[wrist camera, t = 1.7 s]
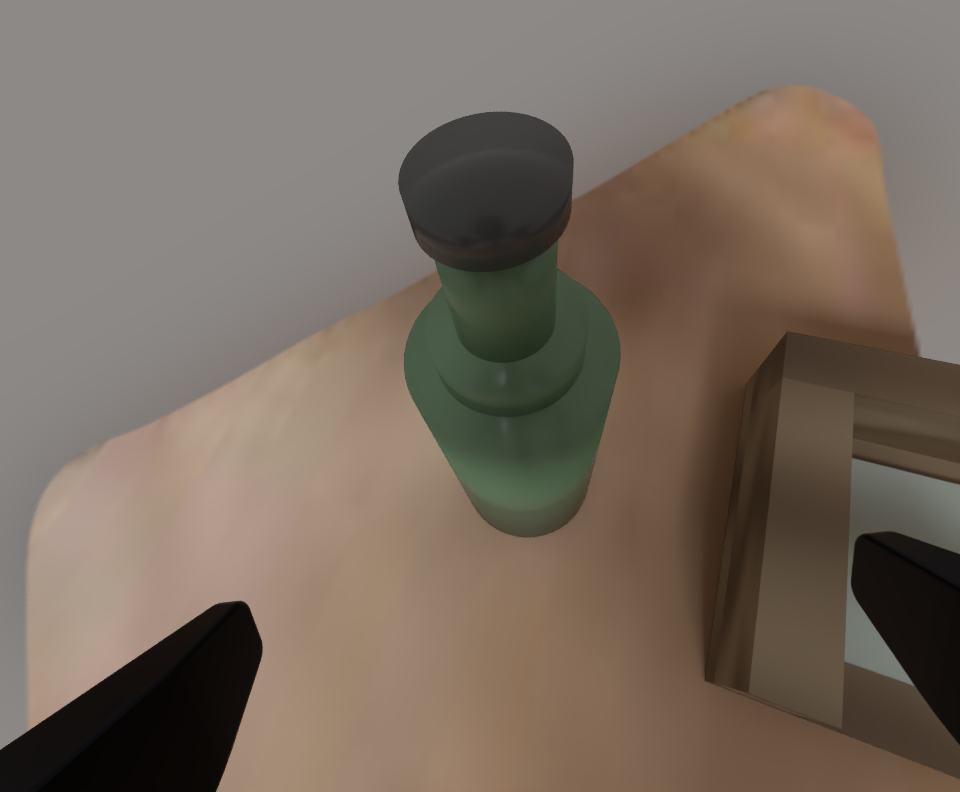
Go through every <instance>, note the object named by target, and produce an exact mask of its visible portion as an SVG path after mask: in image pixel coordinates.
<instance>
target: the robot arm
mask: <svg viewBox="0 0 960 792" xmlns="http://www.w3.org/2000/svg"><path fill="white" fill-rule="evenodd" d="M851 588H852V592H853V594H854V597H855V599H856V600H857V602H858V604H859V605H860V607H861V608H862V610H863V611H864V612H865V614H866V615H867V617H868V618H869V620H870V621H871V623H872V624H873V626H874V627H875V629H876V630H877V631H878V633H879V634H880V636H881V637H882V639H883V640H884V642H885V643H886V645H887V646H888V648H889V649H890V650H891V652H892V653H893V655H894V656H895V658H896V659H897V661H898V662H899V664H900V665H901V667H902V668H903V670H904V671H905V672H906V674H907V675H908V677H909V678H910V680H911V681H912V683H913V684H914V686H915V687H916V689H917V690H918V691H919V693H920V694H921V696H922V697H923V698H924V700H925V701H926V703H927V704H928V705H929V707H930V708H931V709H932V711H933V712H934V714H935V715H936V716H937V717H938V719H939V720H940V721H941V723H942V724H943V725H944V726H945V728H946V729H947V730H948V732H949V733H950V734H951V735H952V737H953V738H954V739H955V740H956V742H957V743H958V744H959V745H960V554H958V553H955V552H953V551H950V550H947V549H944V548H941V547H938V546H935V545H932V544H929V543H926V542H923V541H921V540H918V539H915V538H912V537H909V536H906V535H903V534H900V533H897V532H893V531H883V532H873V533H864V534H861V535H860V536H858V537H857V539H856V540H855V544H854V553H853V563H852V572H851ZM262 649H263V647H262V640H261V637H260V635H259V632H258V629H257V627H256V624H255V621H254V619H253V616H252V613H251V611H250V608H249V606H248V605H247V604H246V603H245V602H243V601H232V602H223V603H218V604H215V605H214V606H212V607H211V608H209V609H208V610H206V611H205V612H203V613H202V614H200V615H199V616H197V617H196V618H194V619H193V620H191V621H190V622H188V623H187V624H185V625H184V626H182V627H181V628H180V629H178V630H177V631H175V632H174V633H172V634H171V635H169V636H168V637H166V638H165V639H163V640H162V641H160V642H159V643H157V644H156V645H154V646H153V647H151V648H150V649H148V650H147V651H146V652H144V653H143V654H141V655H140V656H138V657H137V658H135V659H134V660H132V661H131V662H129V663H128V664H126V665H125V666H123V667H122V668H120V669H119V670H117V671H116V672H115V673H113V674H112V675H110V676H109V677H107V678H106V679H104V680H103V681H101V682H100V683H98V684H97V685H95V686H94V687H92V688H91V689H89V690H88V691H86V692H85V693H84V694H82V695H81V696H79V697H78V698H76V699H75V700H73V701H72V702H70V703H69V704H67V705H66V706H64V707H63V708H61V709H60V710H58V711H57V712H55V713H54V714H53V715H51V716H50V717H48V718H47V719H45V720H44V721H42V722H41V723H39V724H38V725H36V726H35V727H33V728H32V729H30V730H29V731H27V732H26V733H25V734H23V735H22V736H20V737H19V738H17V739H16V740H14V741H13V742H11V743H10V744H8V745H7V746H5V747H4V748H3V749H1V750H0V792H216V791H217V788H218V786H219V783H220V780H221V778H222V775H223V773H224V770H225V768H226V765H227V762H228V759H229V756H230V754H231V751H232V748H233V745H234V742H235V739H236V735H237V732H238V729H239V726H240V723H241V720H242V717H243V714H244V711H245V708H246V705H247V702H248V698H249V695H250V692H251V689H252V686H253V683H254V680H255V677H256V674H257V671H258V668H259V665H260V661H261V658H262Z"/></svg>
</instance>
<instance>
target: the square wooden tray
mask: <svg viewBox="0 0 960 792" xmlns="http://www.w3.org/2000/svg"><path fill="white" fill-rule="evenodd" d="M883 531H893V532H897V533H900V534H903V535H906V536H909V537H912V538H915V539H918V540H921V541H923V542H926V543H929V544H932V545H935V546H938V547H941V548H944V549H947V550H950V551H953V552H955V553H958V554H960V365H958V364H952V363H947V362H942V361H937V360H932V359H927V358H922V357H916V356H911V355H906V354H901V353H896V352H891V351H886V350H880V349H875V348H870V347H865V346H860V345H855V344H849V343H844V342H839V341H834V340H829V339H824V338H819V337H813V336H808V335H803V334H798V333H793V332H788V331H787V333H786V334H785V335H784V337H783V338H782V339H781V340H780V342H779V343H778V344H777V345H776V347H775V348H774V349H773V351H772V352H771V353H770V354H769V356H768V357H767V358H766V360H765V361H764V362H763V363H762V365H761V366H760V367H759V368H758V370H757V371H756V372H755V374H754V375H753V376H752V377H751V379H750V380H749V381H748V382H747V386H746V393H745V400H744V407H743V414H742V421H741V428H740V435H739V442H738V449H737V456H736V463H735V471H734V478H733V485H732V492H731V499H730V506H729V513H728V520H727V527H726V534H725V541H724V548H723V555H722V562H721V569H720V576H719V584H718V591H717V598H716V605H715V612H714V619H713V626H712V633H711V640H710V647H709V654H708V661H707V668H706V675H705V681H707V682H710V683H712V684H715V685H717V686H720V687H722V688H725V689H728V690H730V691H733V692H735V693H738V694H741V695H743V696H746V697H748V698H751V699H754V700H756V701H759V702H761V703H764V704H767V705H769V706H772V707H774V708H777V709H780V710H782V711H785V712H787V713H790V714H792V715H795V716H798V717H800V718H803V719H805V720H808V721H811V722H813V723H816V724H818V725H821V726H824V727H826V728H829V729H831V730H834V731H837V732H839V733H842V734H844V735H847V736H850V737H852V738H855V739H857V740H860V741H862V742H865V743H868V744H870V745H873V746H875V747H878V748H881V749H883V750H886V751H888V752H891V753H894V754H896V755H899V756H901V757H904V758H907V759H909V760H912V761H914V762H917V763H920V764H922V765H925V766H927V767H930V768H932V769H935V770H938V771H940V772H943V773H945V774H948V775H951V776H953V777H956V778H958V779H960V745H959V744H958V743H957V742H956V740H955V739H954V738H953V737H952V735H951V734H950V733H949V732H948V730H947V729H946V728H945V726H944V725H943V724H942V723H941V721H940V720H939V719H938V717H937V716H936V715H935V714H934V712H933V711H932V709H931V708H930V707H929V705H928V704H927V703H926V701H925V700H924V698H923V697H922V696H921V694H920V693H919V691H918V690H917V689H916V687H915V686H914V684H913V683H912V681H911V680H910V678H909V677H908V675H907V674H906V672H905V671H904V670H903V668H902V667H901V665H900V664H899V662H898V661H897V659H896V658H895V656H894V655H893V653H892V652H891V650H890V649H889V648H888V646H887V645H886V643H885V642H884V640H883V639H882V637H881V636H880V634H879V633H878V631H877V630H876V629H875V627H874V626H873V624H872V623H871V621H870V620H869V618H868V617H867V615H866V614H865V612H864V611H863V610H862V608H861V607H860V605H859V604H858V602H857V600H856V599H855V597H854V594H853V592H852V588H851V572H852V563H853V553H854V544H855V540H856V539H857V537H858V536H860V535H861V534H864V533H873V532H883Z"/></svg>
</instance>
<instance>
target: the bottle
mask: <svg viewBox="0 0 960 792" xmlns="http://www.w3.org/2000/svg"><path fill="white" fill-rule="evenodd" d="M572 183H573V154H572V150H571V147H570V145H569V143H568V141H567V140H566V139H565V137H564V136H563V135H562V134H561V133H560V132H559V131H558V130H557V129H556V128H555V127H553V126H552V125H550V124H548V123H547V122H545V121H543V120H540V119H538V118H536V117H532V116H529V115H525V114H520V113H512V112H486V113H480V114H474V115H469V116H466V117H462V118H459V119H456V120H453V121H451V122H448V123H446V124H444V125H442V126H440V127H438V128H436V129H435V130H433V131H432V132H430V133H428V134H427V135H426V136H424V137H423V138H422V139H421V140H420V141H419V142H418V143H417V144H416V145H415V146H414V147H413V148H412V149H411V150H410V152H409V153H408V154H407V156H406V158H405V159H404V161H403V164H402V166H401V168H400V173H399V182H398V184H399V191H400V194H401V197H402V200H403V203H404V206H405V209H406V212H407V215H408V218H409V221H410V223H411V227H412V230H413V233H414V236H415V238H416V240H417V242H418V244H419V246H420V247H421V248H422V249H423V250H424V252H425V253H427V254H428V255H429V256H430V257H431V258H433V259H434V260H435V263H436V267H437V270H438V273H439V277H440V280H441V283H442V287H441V289H440V290H439V291H438V292H437V294H436V295H435V297H434V298H433V300H432V301H430V302H429V304H428V305H427V306H426V307H425V308H424V309H423V311H422V312H421V314H420V315H419V317H418V318H417V320H416V321H415V323H414V325H413V327H412V329H411V331H410V334H409V337H408V340H407V343H406V348H405V354H404V371H405V379H406V382H407V386H408V390H409V392H410V394H411V396H412V399H413V401H414V403H415V404H416V406H417V408H418V410H419V411H420V413H421V415H422V417H423V418H424V420H425V422H426V424H427V425H428V427H429V429H430V431H431V432H432V434H433V436H434V438H435V439H436V441H437V443H438V445H439V446H440V448H441V450H442V452H443V453H444V455H445V457H446V459H447V460H448V462H449V464H450V466H451V467H452V469H453V471H454V473H455V474H456V476H457V478H458V480H459V481H460V483H461V485H462V487H463V488H464V490H465V492H466V494H467V495H468V497H469V499H470V501H471V502H472V504H473V506H474V507H475V509H476V511H477V512H478V513H479V515H480V516H481V517H482V518H483V519H484V520H485V521H486V522H487V523H488V524H490V525H491V526H493V527H494V528H496V529H498V530H500V531H502V532H504V533H507V534H509V535H513V536H518V537H537V536H542V535H546V534H549V533H551V532H554V531H556V530H558V529H560V528H561V527H562V526H564V525H565V524H567V523H568V522H569V521H570V520H571V519H572V518H573V517H574V516H575V515H576V513H577V512H578V511H579V509H580V507H581V506H582V504H583V501H584V499H585V496H586V493H587V489H588V485H589V481H590V477H591V474H592V470H593V466H594V462H595V458H596V455H597V451H598V447H599V443H600V439H601V436H602V432H603V428H604V424H605V420H606V417H607V413H608V409H609V405H610V401H611V397H612V394H613V390H614V386H615V382H616V378H617V375H618V371H619V365H620V342H619V337H618V333H617V330H616V327H615V324H614V322H613V319H612V318H611V316H610V314H609V312H608V311H607V309H606V308H605V307H604V305H603V304H602V303H601V301H600V300H599V299H598V298H597V297H596V296H595V295H594V294H593V293H592V292H591V291H589V290H588V289H587V288H585V287H584V286H583V285H581V284H580V283H578V282H576V281H574V280H573V279H571V278H569V277H568V276H567V275H566V274H565V273H563V272H562V271H561V270H559V269H557V243H558V239H559V238H560V236H561V235H562V234H563V232H564V230H565V228H566V227H567V224H568V221H569V219H570V214H571V202H572Z"/></svg>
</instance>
